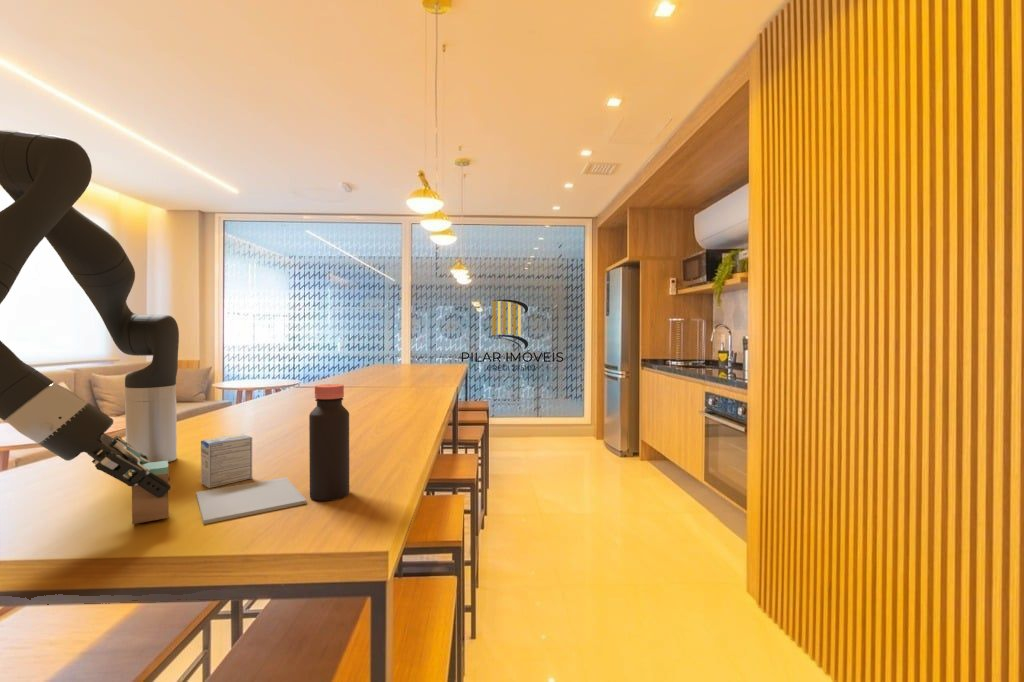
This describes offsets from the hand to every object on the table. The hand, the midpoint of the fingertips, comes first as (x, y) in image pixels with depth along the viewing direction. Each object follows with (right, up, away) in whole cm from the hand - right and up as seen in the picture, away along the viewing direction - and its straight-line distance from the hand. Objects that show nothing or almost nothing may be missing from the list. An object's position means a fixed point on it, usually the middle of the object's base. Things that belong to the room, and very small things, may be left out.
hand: (165, 487), depth 77 cm
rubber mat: (+9, -5, +8) cm, 13 cm away
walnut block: (-2, -4, -1) cm, 5 cm away
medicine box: (-1, -5, +18) cm, 19 cm away
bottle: (+22, -5, +10) cm, 25 cm away
